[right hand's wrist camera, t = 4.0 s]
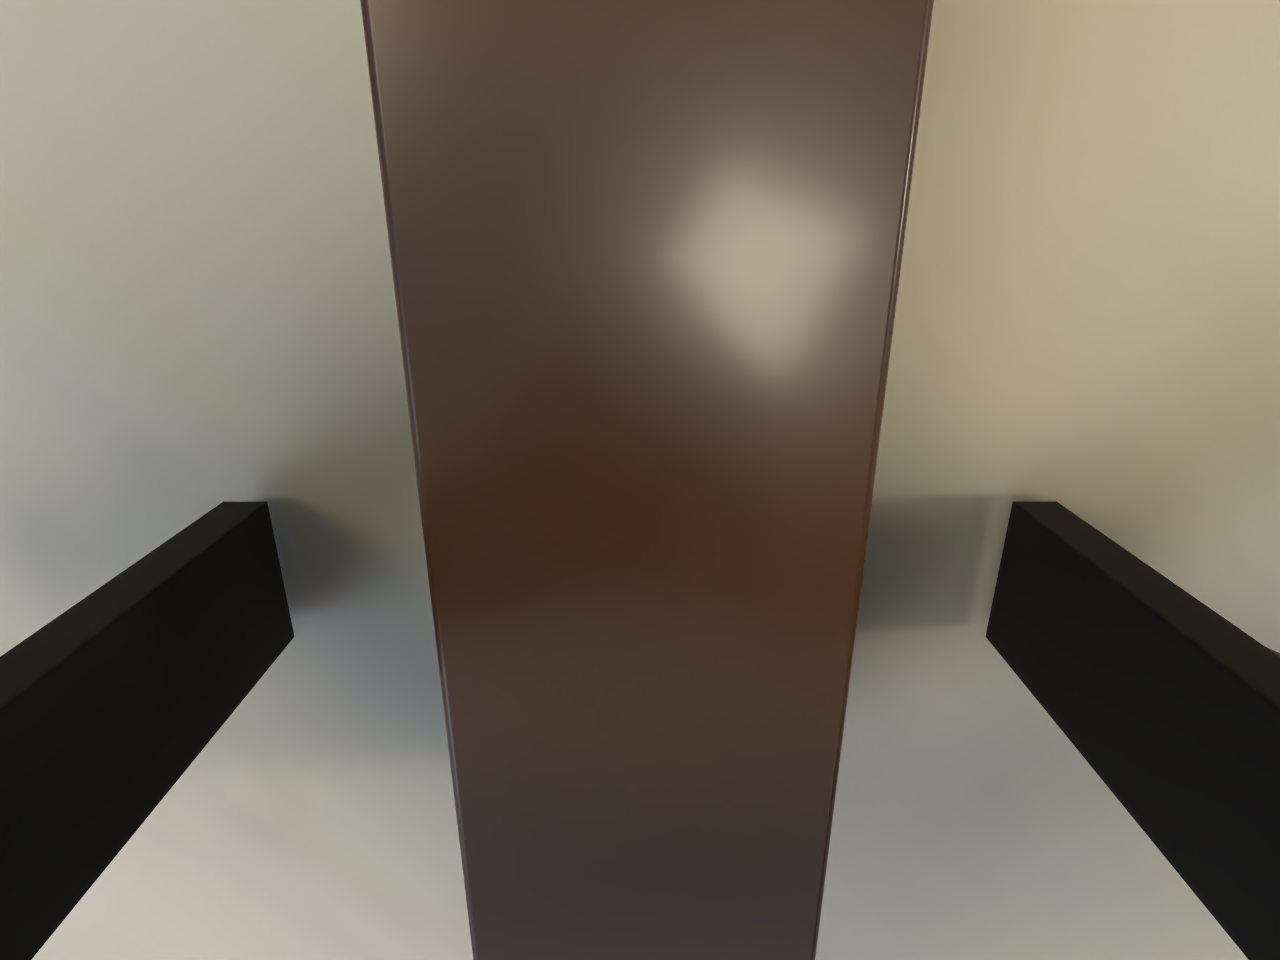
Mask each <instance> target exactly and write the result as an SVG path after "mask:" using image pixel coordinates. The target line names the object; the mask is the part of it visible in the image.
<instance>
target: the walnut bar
mask: <svg viewBox="0 0 1280 960" xmlns="http://www.w3.org/2000/svg"><path fill="white" fill-rule="evenodd" d="M933 2H934V0H361V8H362V17H363V25H364V34H365V42H366V51H367V59H368V68H369V76H370V85H371V93H372V102H373V110H374V119H375V127H376V136H377V144H378V153H379V161H380V170H381V178H382V187H383V195H384V204H385V212H386V221H387V229H388V238H389V246H390V255H391V263H392V272H393V280H394V289H395V297H396V306H397V314H398V323H399V331H400V340H401V348H402V357H403V365H404V374H405V382H406V391H407V399H408V408H409V416H410V425H411V433H412V442H413V450H414V459H415V467H416V476H417V484H418V493H419V501H420V510H421V518H422V527H423V535H424V544H425V552H426V561H427V569H428V578H429V586H430V595H431V603H432V612H433V620H434V629H435V637H436V646H437V654H438V663H439V671H440V680H441V688H442V697H443V705H444V714H445V722H446V731H447V739H448V748H449V756H450V765H451V773H452V781H453V790H454V798H455V807H456V815H457V824H458V832H459V841H460V849H461V858H462V866H463V875H464V883H465V892H466V900H467V909H468V917H469V926H470V934H471V943H472V951H473V960H815V956H816V948H817V940H818V932H819V924H820V916H821V908H822V900H823V892H824V883H825V875H826V867H827V859H828V851H829V843H830V835H831V827H832V819H833V811H834V803H835V795H836V786H837V778H838V770H839V762H840V754H841V746H842V738H843V730H844V722H845V714H846V706H847V697H848V689H849V681H850V673H851V665H852V657H853V649H854V641H855V633H856V625H857V617H858V608H859V600H860V592H861V584H862V576H863V568H864V560H865V552H866V544H867V536H868V528H869V519H870V511H871V503H872V495H873V487H874V479H875V471H876V463H877V455H878V447H879V439H880V430H881V422H882V414H883V406H884V398H885V390H886V382H887V374H888V366H889V358H890V350H891V341H892V333H893V325H894V317H895V309H896V301H897V293H898V285H899V277H900V269H901V261H902V253H903V244H904V236H905V228H906V220H907V212H908V204H909V196H910V188H911V180H912V172H913V164H914V155H915V147H916V139H917V131H918V123H919V115H920V107H921V99H922V91H923V83H924V75H925V66H926V58H927V50H928V42H929V34H930V26H931V18H932V10H933Z"/></svg>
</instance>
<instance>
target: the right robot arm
mask: <svg viewBox="0 0 1280 960" xmlns="http://www.w3.org/2000/svg"><path fill="white" fill-rule="evenodd" d="M293 638H294V633H293V628H292V623H291V618H290V613H289V608H288V603H287V598H286V593H285V588H284V583H283V578H282V573H281V568H280V563H279V558H278V553H277V548H276V543H275V539H274V534H273V529H272V524H271V519H270V514H269V509H268V504H267V502H222V503H221V504H219V505H218V506H217V507H215V508H214V509H212V510H211V511H209V512H208V513H206V514H205V515H204V516H202V517H201V518H199V519H198V520H196V521H195V522H194V523H192V524H191V525H189V526H188V527H186V528H185V529H183V530H182V531H181V532H179V533H178V534H176V535H175V536H173V537H172V538H171V539H169V540H168V541H166V542H165V543H163V544H162V545H160V546H159V547H158V548H156V549H155V550H153V551H152V552H150V553H149V554H148V555H146V556H145V557H143V558H142V559H140V560H139V561H137V562H136V563H135V564H133V565H132V566H130V567H129V568H127V569H126V570H125V571H123V572H122V573H120V574H119V575H117V576H116V577H114V578H113V579H112V580H110V581H109V582H107V583H106V584H104V585H103V586H102V587H100V588H99V589H97V590H96V591H94V592H93V593H91V594H90V595H89V596H87V597H86V598H84V599H83V600H81V601H80V602H79V603H77V604H76V605H74V606H73V607H71V608H70V609H68V610H67V611H66V612H64V613H63V614H61V615H60V616H58V617H57V618H56V619H54V620H53V621H51V622H50V623H48V624H47V625H45V626H44V627H43V628H41V629H40V630H38V631H37V632H35V633H34V634H32V635H31V636H30V637H28V638H27V639H25V640H24V641H22V642H21V643H20V644H18V645H17V646H15V647H14V648H12V649H11V650H9V651H8V652H7V653H5V654H4V655H2V656H1V657H0V960H31V959H32V958H33V957H34V956H35V954H36V953H37V952H38V951H39V949H40V948H41V947H42V946H43V945H44V943H45V942H46V941H47V940H48V938H49V937H50V936H51V935H52V934H53V932H54V931H55V930H56V929H57V927H58V926H59V925H60V924H61V922H62V921H63V920H64V919H65V918H66V916H67V915H68V914H69V913H70V911H71V910H72V909H73V908H74V907H75V905H76V904H77V903H78V902H79V900H80V899H81V898H82V897H83V895H84V894H85V893H86V892H87V891H88V889H89V888H90V887H91V886H92V884H93V883H94V882H95V881H96V879H97V878H98V877H99V876H100V875H101V873H102V872H103V871H104V870H105V868H106V867H107V866H108V865H109V864H110V862H111V861H112V860H113V859H114V857H115V856H116V855H117V854H118V852H119V851H120V850H121V849H122V848H123V846H124V845H125V844H126V843H127V841H128V840H129V839H130V838H131V836H132V835H133V834H134V833H135V832H136V830H137V829H138V828H139V827H140V825H141V824H142V823H143V822H144V821H145V819H146V818H147V817H148V816H149V814H150V813H151V812H152V811H153V809H154V808H155V807H156V806H157V805H158V803H159V802H160V801H161V800H162V798H163V797H164V796H165V795H166V794H167V792H168V791H169V790H170V789H171V787H172V786H173V785H174V784H175V782H176V781H177V780H178V779H179V778H180V776H181V775H182V774H183V773H184V771H185V770H186V769H187V768H188V766H189V765H190V764H191V763H192V762H193V760H194V759H195V758H196V757H197V755H198V754H199V753H200V752H201V751H202V749H203V748H204V747H205V746H206V744H207V743H208V742H209V741H210V739H211V738H212V737H213V736H214V735H215V733H216V732H217V731H218V730H219V728H220V727H221V726H222V725H223V724H224V722H225V721H226V720H227V719H228V717H229V716H230V715H231V714H232V712H233V711H234V710H235V709H236V708H237V706H238V705H239V704H240V703H241V701H242V700H243V699H244V698H245V696H246V695H247V694H248V693H249V692H250V690H251V689H252V688H253V687H254V685H255V684H256V683H257V682H258V681H259V679H260V678H261V677H262V676H263V674H264V673H265V672H266V671H267V669H268V668H269V667H270V666H271V665H272V663H273V662H274V661H275V660H276V658H277V657H278V656H279V655H280V654H281V652H282V651H283V650H284V649H285V647H286V646H287V645H288V644H289V642H290V641H291V640H292V639H293ZM986 638H987V639H988V640H989V641H990V642H991V644H992V645H993V646H994V647H995V649H996V650H997V651H998V652H999V654H1000V655H1001V656H1002V657H1003V658H1004V660H1005V661H1006V662H1007V663H1008V665H1009V666H1010V667H1011V668H1012V670H1013V671H1014V672H1015V673H1016V674H1017V676H1018V677H1019V678H1020V679H1021V681H1022V682H1023V683H1024V684H1025V685H1026V687H1027V688H1028V689H1029V690H1030V692H1031V693H1032V694H1033V695H1034V697H1035V698H1036V699H1037V700H1038V701H1039V703H1040V704H1041V705H1042V706H1043V708H1044V709H1045V710H1046V711H1047V712H1048V714H1049V715H1050V716H1051V717H1052V719H1053V720H1054V721H1055V722H1056V724H1057V725H1058V726H1059V727H1060V728H1061V730H1062V731H1063V732H1064V733H1065V735H1066V736H1067V737H1068V738H1069V740H1070V741H1071V742H1072V743H1073V744H1074V746H1075V747H1076V748H1077V749H1078V751H1079V752H1080V753H1081V754H1082V755H1083V757H1084V758H1085V759H1086V760H1087V762H1088V763H1089V764H1090V765H1091V767H1092V768H1093V769H1094V770H1095V771H1096V773H1097V774H1098V775H1099V776H1100V778H1101V779H1102V780H1103V781H1104V782H1105V784H1106V785H1107V786H1108V787H1109V789H1110V790H1111V791H1112V792H1113V794H1114V795H1115V796H1116V797H1117V798H1118V800H1119V801H1120V802H1121V803H1122V805H1123V806H1124V807H1125V808H1126V810H1127V811H1128V812H1129V813H1130V814H1131V816H1132V817H1133V818H1134V819H1135V821H1136V822H1137V823H1138V824H1139V825H1140V827H1141V828H1142V829H1143V830H1144V832H1145V833H1146V834H1147V835H1148V837H1149V838H1150V839H1151V840H1152V841H1153V843H1154V844H1155V845H1156V846H1157V848H1158V849H1159V850H1160V851H1161V853H1162V854H1163V855H1164V856H1165V857H1166V859H1167V860H1168V861H1169V862H1170V864H1171V865H1172V866H1173V867H1174V868H1175V870H1176V871H1177V872H1178V873H1179V875H1180V876H1181V877H1182V878H1183V880H1184V881H1185V882H1186V883H1187V884H1188V886H1189V887H1190V888H1191V889H1192V891H1193V892H1194V893H1195V894H1196V895H1197V897H1198V898H1199V899H1200V900H1201V902H1202V903H1203V904H1204V905H1205V907H1206V908H1207V909H1208V910H1209V911H1210V913H1211V914H1212V915H1213V916H1214V918H1215V919H1216V920H1217V921H1218V923H1219V924H1220V925H1221V926H1222V927H1223V929H1224V930H1225V931H1226V932H1227V934H1228V935H1229V936H1230V937H1231V938H1232V940H1233V941H1234V942H1235V943H1236V945H1237V946H1238V947H1239V948H1240V950H1241V951H1242V952H1243V953H1244V954H1245V956H1246V957H1247V958H1248V959H1249V960H1280V654H1279V653H1277V652H1275V651H1273V650H1271V649H1269V648H1267V647H1265V646H1263V645H1262V644H1260V643H1259V642H1258V641H1256V640H1255V639H1253V638H1252V637H1250V636H1249V635H1247V634H1246V633H1245V632H1243V631H1242V630H1240V629H1239V628H1237V627H1236V626H1235V625H1233V624H1232V623H1230V622H1229V621H1227V620H1226V619H1224V618H1223V617H1222V616H1220V615H1219V614H1217V613H1216V612H1214V611H1213V610H1212V609H1210V608H1209V607H1207V606H1206V605H1204V604H1203V603H1201V602H1200V601H1199V600H1197V599H1196V598H1194V597H1193V596H1191V595H1190V594H1189V593H1187V592H1186V591H1184V590H1183V589H1181V588H1180V587H1178V586H1177V585H1176V584H1174V583H1173V582H1171V581H1170V580H1168V579H1167V578H1166V577H1164V576H1163V575H1161V574H1160V573H1158V572H1157V571H1155V570H1154V569H1153V568H1151V567H1150V566H1148V565H1147V564H1145V563H1144V562H1142V561H1141V560H1140V559H1138V558H1137V557H1135V556H1134V555H1132V554H1131V553H1130V552H1128V551H1127V550H1125V549H1124V548H1122V547H1121V546H1119V545H1118V544H1117V543H1115V542H1114V541H1112V540H1111V539H1109V538H1108V537H1107V536H1105V535H1104V534H1102V533H1101V532H1099V531H1098V530H1096V529H1095V528H1094V527H1092V526H1091V525H1089V524H1088V523H1086V522H1085V521H1084V520H1082V519H1081V518H1079V517H1078V516H1076V515H1075V514H1073V513H1072V512H1071V511H1069V510H1068V509H1066V508H1065V507H1063V506H1062V505H1061V504H1059V503H1058V502H1013V504H1012V509H1011V514H1010V519H1009V523H1008V528H1007V533H1006V538H1005V543H1004V548H1003V553H1002V558H1001V563H1000V568H999V573H998V578H997V583H996V588H995V593H994V598H993V603H992V608H991V613H990V618H989V623H988V628H987V633H986Z"/></svg>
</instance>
